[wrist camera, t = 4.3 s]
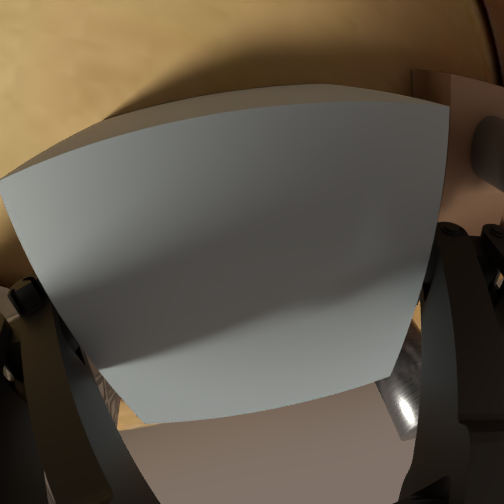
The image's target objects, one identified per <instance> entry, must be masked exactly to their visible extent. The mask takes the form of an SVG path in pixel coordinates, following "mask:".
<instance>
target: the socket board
mask: <svg viewBox="0 0 504 504" xmlns="http://www.w3.org/2000/svg"><path fill="white" fill-rule="evenodd" d="M412 90H413V98H418V99H422V100H426V101H430V102H434V103H438V104H442V105H445V106H449V107H450V109H449V132H448V146H447V158H446V167H445V175H444V183H443V190H442V197H441V203H440V209H439V215H438V220H437V222H451V223H455V224H457V225H459V226H461V227H462V228H464V229H465V230H466V232H467V233H468V235H469V236H480V235H481V231H482V227H483V226H484V225H485V224H497V225H500V226H501V227H502V228H504V87H501V86H498V85H494V84H491V83H487V82H484V81H480V80H476V79H472V78H468V77H464V76H460V75H455V74H450V73H444V72H436V71H428V70H418V69H412Z"/></svg>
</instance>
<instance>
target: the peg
mask: <svg viewBox="0 0 504 504" xmlns="http://www.w3.org/2000/svg"><path fill="white" fill-rule="evenodd" d="M421 360H422V335H421V331H420V329H419V328H418V326H417V325H416V324H415V322H414V321H413V319H412V320H411V323H410V325H409V328H408V331H407V334H406V337H405V340H404V342H403V345H402V348H401V350H400V353H399V355H398V358H397V360H396V363H395V365H394V368H393V370H392V373H391V375H390V376H389V377H386V378H383V379H381V380H378V381H375V384H376V386H377V388H378V390H379V392H380V394H381V396H382V399H383V401H384V403H385V405H386V407H387V409H388V412H389V414H390V416H391V418H392V421H393V423H394V425H395V427H396V430H397V432H398V434H399V437H400V439H401V440H402V441H405V440H410V439H413V438H416V433H417V424H418V414H419V403H420V387H421Z"/></svg>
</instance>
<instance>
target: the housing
mask: <svg viewBox="0 0 504 504" xmlns="http://www.w3.org/2000/svg"><path fill="white" fill-rule="evenodd" d="M449 109H450V107H449V106H445V105H442V104H438V103H434V102H430V101H426V100H422V99H418V98H413V97H409V96H404V95H399V94H394V93H389V92H383V91H377V90H371V89H365V88H358V87H350V86H342V85H333V84H301V85H285V86H273V87H262V88H253V89H245V90H237V91H230V92H223V93H216V94H210V95H205V96H199V97H194V98H188V99H183V100H179V101H174V102H169V103H165V104H161V105H156V106H152V107H148V108H144V109H141V110H137V111H133V112H129V113H126V114H122V115H119V116H116V117H112V118H109V119H106V120H103V121H100V122H98V123H96V124H94V125H92V126H90V127H88V128H86V129H84V130H82V131H80V132H78V133H76V134H74V135H72V136H70V137H68V138H66V139H65V140H63V141H61V142H59V143H57V144H55V145H54V146H52V147H50V148H48V149H47V150H45V151H43V152H42V153H40V154H38V155H37V156H35V157H33V158H32V159H30V160H28V161H27V162H25V163H24V164H22V165H21V166H19V167H17V168H16V169H14V170H13V171H11V172H10V173H8V174H7V175H6V176H4V177H3V178H1V179H0V194H1V197H2V200H3V202H4V205H5V208H6V210H7V213H8V215H9V218H10V220H11V222H12V225H13V227H14V229H15V232H16V234H17V236H18V238H19V241H20V243H21V245H22V247H23V249H24V251H25V253H26V255H27V257H28V259H29V261H30V263H31V265H32V267H33V269H34V271H35V273H36V275H37V277H38V279H39V280H40V282H41V284H42V286H43V288H44V289H45V291H46V293H47V295H48V296H49V298H50V300H51V301H52V303H53V305H54V306H55V308H56V310H57V311H58V313H59V314H60V316H61V318H62V319H63V321H64V322H65V324H66V325H67V327H68V328H69V330H70V331H71V333H72V334H73V336H74V337H75V339H76V340H77V342H78V343H79V345H80V346H81V347H82V349H83V350H84V352H85V353H86V354H87V356H88V357H89V358H90V360H91V361H92V362H93V364H94V365H95V366H96V368H97V369H98V370H99V372H100V373H101V374H102V375H103V377H104V378H105V379H106V380H107V382H108V383H109V384H110V385H111V387H112V388H113V389H114V390H115V391H116V393H117V394H118V395H119V396H120V397H121V398H122V400H123V401H124V402H125V403H126V404H127V405H128V406H129V407H130V409H131V410H132V411H133V412H134V413H135V414H136V415H137V416H138V417H139V418H140V419H141V421H142V422H143V423H144V424H150V423H169V422H182V421H193V420H202V419H212V418H219V417H227V416H234V415H240V414H246V413H252V412H257V411H264V410H269V409H274V408H279V407H283V406H288V405H292V404H297V403H301V402H306V401H310V400H314V399H317V398H321V397H325V396H329V395H332V394H336V393H340V392H343V391H346V390H350V389H353V388H356V387H359V386H362V385H366V384H369V383H372V382H375V381H378V380H381V379H383V378H386V377H389V376H390V375H391V373H392V370H393V368H394V365H395V363H396V360H397V358H398V355H399V353H400V350H401V348H402V345H403V342H404V340H405V337H406V334H407V331H408V328H409V325H410V323H411V320H412V317H413V314H414V310H415V307H416V304H417V301H418V298H419V294H420V291H421V287H422V284H423V280H424V277H425V273H426V269H427V265H428V261H429V257H430V253H431V249H432V244H433V240H434V235H435V230H436V225H437V220H438V215H439V209H440V203H441V197H442V190H443V183H444V175H445V167H446V158H447V146H448V132H449Z"/></svg>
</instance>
